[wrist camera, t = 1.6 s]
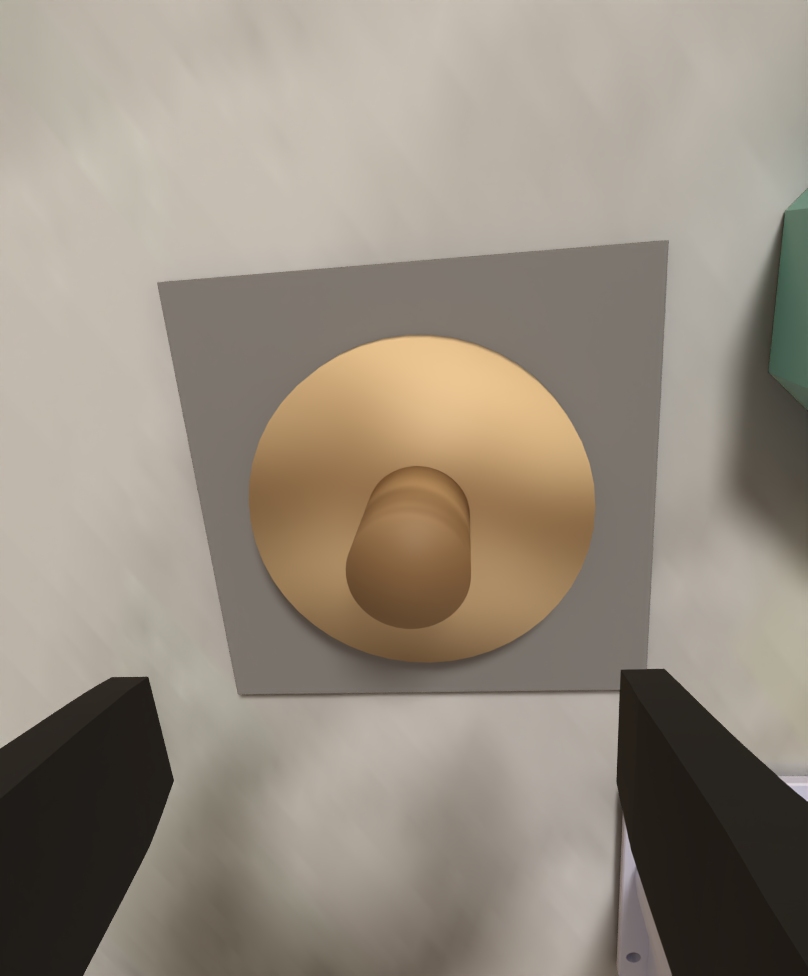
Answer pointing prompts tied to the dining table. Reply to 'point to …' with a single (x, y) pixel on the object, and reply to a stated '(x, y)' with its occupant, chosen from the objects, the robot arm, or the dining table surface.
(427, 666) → the mat
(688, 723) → the robot arm
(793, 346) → the bowl
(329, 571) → the lid
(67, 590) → the dining table surface
